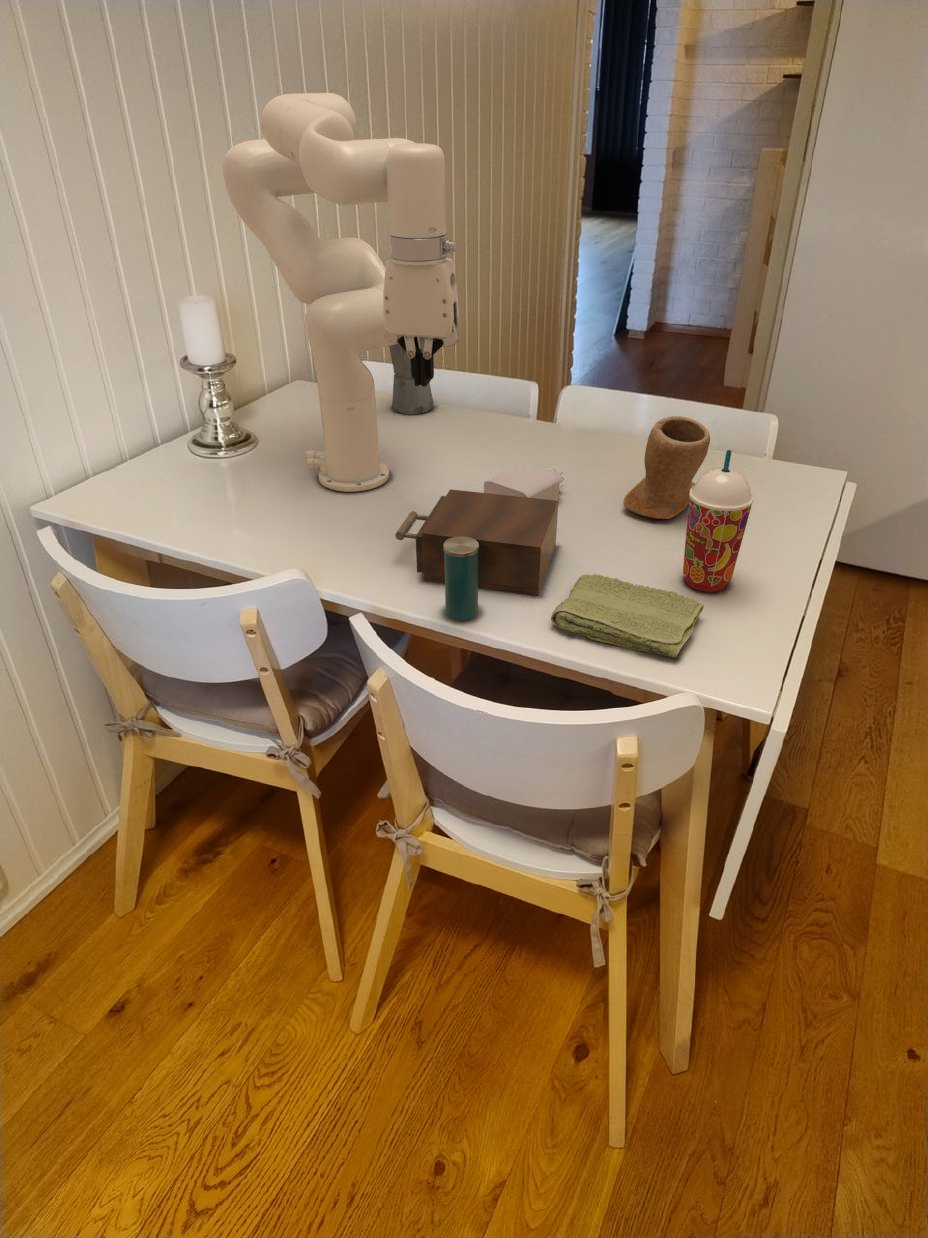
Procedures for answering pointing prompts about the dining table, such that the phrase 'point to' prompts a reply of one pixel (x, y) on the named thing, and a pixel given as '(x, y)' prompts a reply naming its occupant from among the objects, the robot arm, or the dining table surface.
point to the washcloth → (628, 615)
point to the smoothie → (715, 527)
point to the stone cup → (669, 467)
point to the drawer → (407, 526)
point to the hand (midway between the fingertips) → (422, 383)
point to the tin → (461, 578)
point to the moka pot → (408, 384)
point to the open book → (526, 483)
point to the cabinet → (495, 538)
